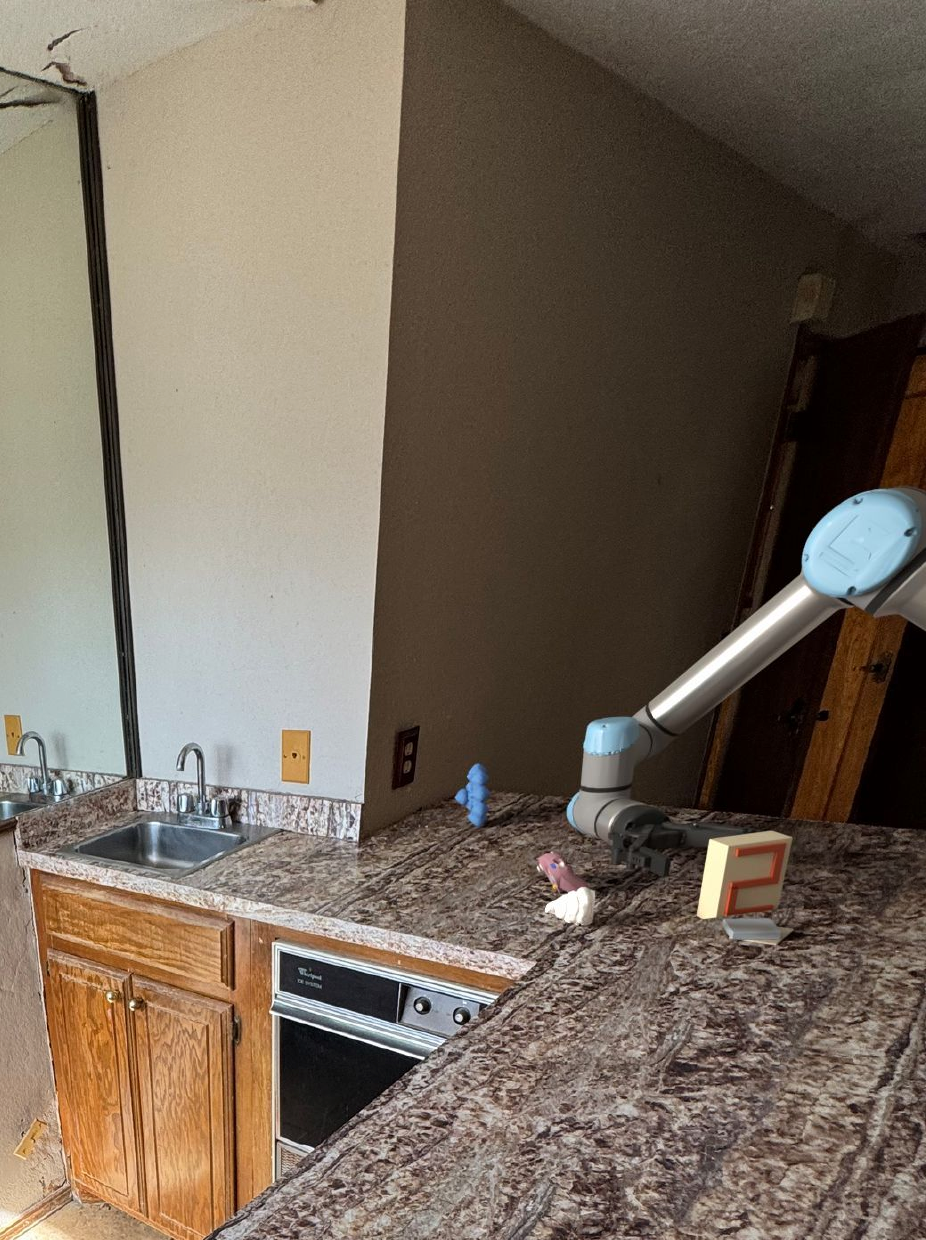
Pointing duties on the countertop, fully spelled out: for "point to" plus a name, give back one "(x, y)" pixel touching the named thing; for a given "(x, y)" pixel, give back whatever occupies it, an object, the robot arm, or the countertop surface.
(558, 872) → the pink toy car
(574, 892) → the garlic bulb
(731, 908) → the cream digit block
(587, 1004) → the countertop surface
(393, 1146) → the countertop surface
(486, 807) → the grapes
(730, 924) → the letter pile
